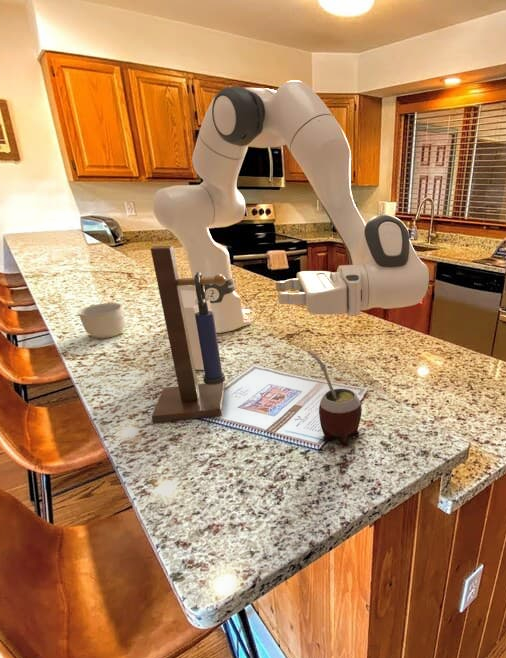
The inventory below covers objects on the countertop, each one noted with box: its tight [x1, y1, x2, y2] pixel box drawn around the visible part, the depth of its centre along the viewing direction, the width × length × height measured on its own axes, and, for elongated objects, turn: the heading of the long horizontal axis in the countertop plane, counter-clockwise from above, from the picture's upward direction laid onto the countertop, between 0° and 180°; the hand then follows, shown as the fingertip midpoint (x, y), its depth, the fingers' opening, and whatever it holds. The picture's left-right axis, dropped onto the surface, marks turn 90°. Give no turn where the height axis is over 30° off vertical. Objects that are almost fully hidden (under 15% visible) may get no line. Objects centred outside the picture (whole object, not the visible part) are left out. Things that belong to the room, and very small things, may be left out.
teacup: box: [77, 302, 126, 339], centre depth 122 cm, size 14×11×8 cm
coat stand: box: [150, 245, 226, 424], centre depth 78 cm, size 12×16×30 cm
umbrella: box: [195, 272, 226, 385], centre depth 79 cm, size 6×4×21 cm, turn 13°
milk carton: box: [180, 285, 211, 371], centre depth 98 cm, size 7×7×19 cm
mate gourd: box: [307, 349, 363, 448], centre depth 70 cm, size 8×8×15 cm
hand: (276, 292), depth 80 cm, fingers open, 8 cm apart
